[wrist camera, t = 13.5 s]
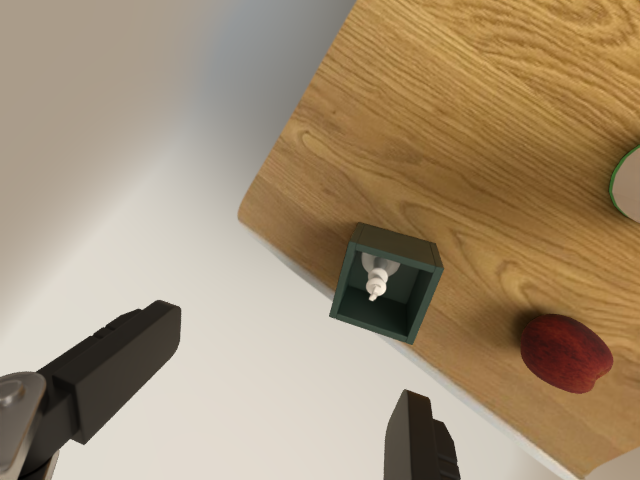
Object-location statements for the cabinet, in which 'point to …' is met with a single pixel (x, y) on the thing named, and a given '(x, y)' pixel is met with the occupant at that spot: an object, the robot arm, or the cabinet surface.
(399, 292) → the bin
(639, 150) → the cup
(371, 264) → the chess piece
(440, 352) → the cabinet surface
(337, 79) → the cabinet surface
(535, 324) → the apple
